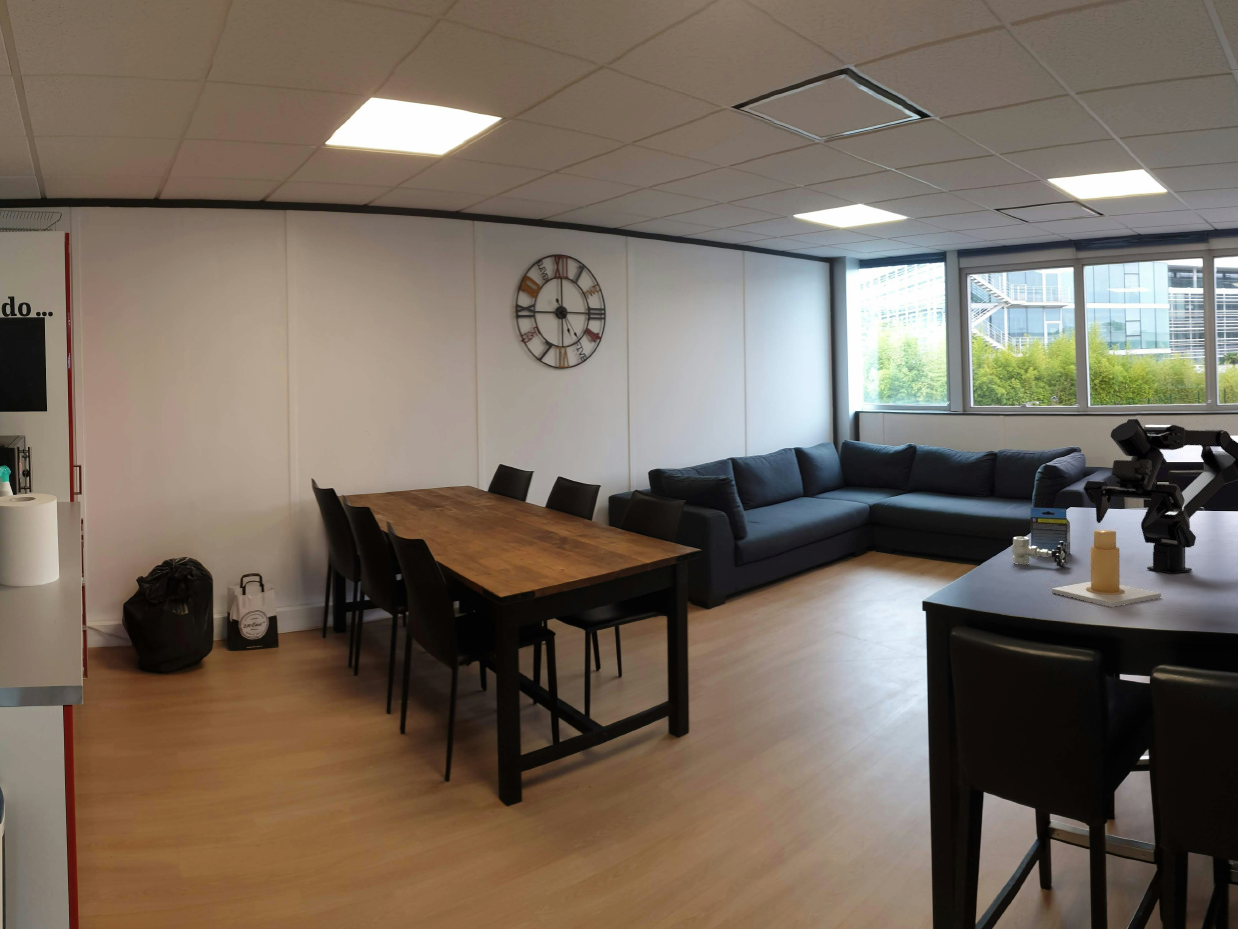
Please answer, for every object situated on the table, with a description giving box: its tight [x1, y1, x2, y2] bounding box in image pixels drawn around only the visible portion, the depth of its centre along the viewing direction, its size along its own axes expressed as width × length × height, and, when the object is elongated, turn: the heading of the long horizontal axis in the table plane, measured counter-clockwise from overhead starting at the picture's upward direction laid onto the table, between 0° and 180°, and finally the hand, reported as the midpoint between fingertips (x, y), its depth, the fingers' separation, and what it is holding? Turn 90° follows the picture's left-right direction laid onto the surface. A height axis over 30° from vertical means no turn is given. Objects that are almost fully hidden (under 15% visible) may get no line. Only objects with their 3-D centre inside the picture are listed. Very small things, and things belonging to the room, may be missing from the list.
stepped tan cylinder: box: [1090, 529, 1121, 593], centre depth 169 cm, size 5×5×12 cm
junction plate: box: [1051, 581, 1162, 608], centre depth 169 cm, size 14×14×1 cm
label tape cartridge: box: [1030, 506, 1071, 555], centre depth 213 cm, size 9×4×12 cm, turn 48°
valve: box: [1011, 536, 1069, 569], centre depth 200 cm, size 7×7×12 cm
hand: (1120, 523), depth 176 cm, fingers open, 9 cm apart
